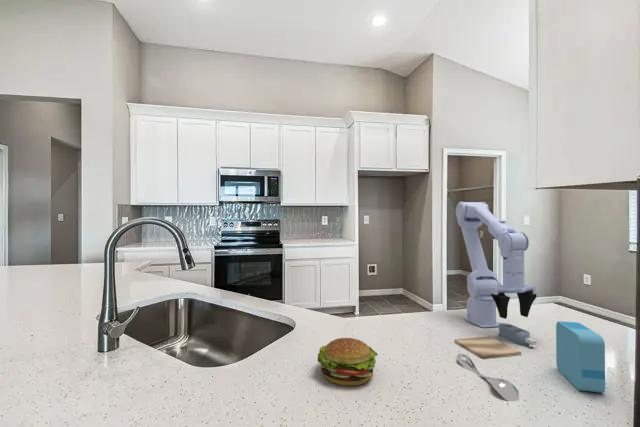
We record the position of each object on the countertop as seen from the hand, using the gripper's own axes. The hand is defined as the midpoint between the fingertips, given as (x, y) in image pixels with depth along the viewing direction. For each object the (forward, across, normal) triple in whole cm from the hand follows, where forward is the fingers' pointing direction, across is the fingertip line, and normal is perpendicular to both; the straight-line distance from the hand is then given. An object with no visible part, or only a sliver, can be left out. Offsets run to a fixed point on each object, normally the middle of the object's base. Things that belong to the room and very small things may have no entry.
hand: (513, 317), depth 101 cm
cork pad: (+7, -13, -4) cm, 15 cm away
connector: (+7, 0, -1) cm, 7 cm away
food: (+7, -56, -10) cm, 57 cm away
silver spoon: (+8, -26, -19) cm, 33 cm away
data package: (+7, -6, -25) cm, 27 cm away
